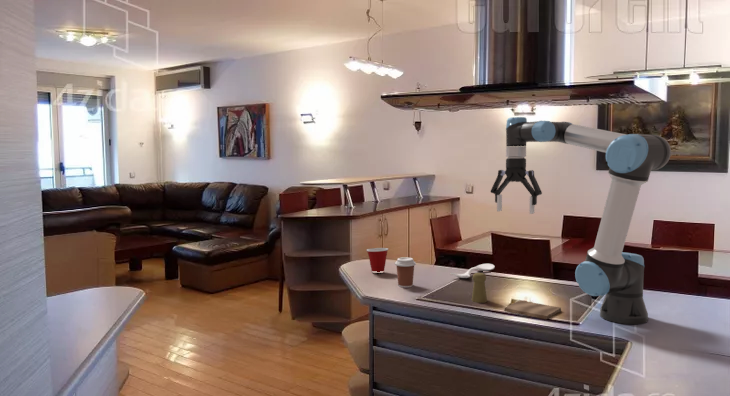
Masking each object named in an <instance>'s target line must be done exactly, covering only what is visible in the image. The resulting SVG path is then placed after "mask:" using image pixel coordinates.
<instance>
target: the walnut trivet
mask: <svg viewBox="0 0 730 396" xmlns="http://www.w3.org/2000/svg"><path fill="white" fill-rule="evenodd" d="M503 311H504V312H507V313H513V314H516V315H523V316H526V317H527V316H528V317H532V318H537V319H543V320H548V319H550V318H552V317H553V316H554V315H555V316H556V314H558V313H560V312H562V307H559V306H553V305H547V304H543V303H539V302H538V303H537V302H536V303H535V302H534V301H533V302H532V301H527V300H521V299H519V300H518V301H515V302H513V303H511V304H509V305H507V306H505V307H504V308H503Z"/></svg>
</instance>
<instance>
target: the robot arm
mask: <svg viewBox="0 0 730 396" xmlns="http://www.w3.org/2000/svg"><path fill="white" fill-rule="evenodd" d="M505 126H506V128H505V131H506V133H505V135H506V136H505V142H506V143H505V145H506V146H505V148H506V149H505V157H506V159H505V170H504V169H499V170H498V172H497V177H496V178H495V181H494V182H493V184H492V187H491V189H490V193H491V194H494V202H495V203H496V212H502V209H503V195H502V194H501V193H502V192H503V191H504V189H506V187H507V186H508V185H509V183H513V182H516V183H521V184H522V185H523V186H524V187H525V188H526V190H527V191H528V193H529V194H530V196H529V215H532V214H535V206H537V203H538V196H540V195H542V194H543V191H542V190H541V187H540V186H539V183H538V181H537V178H536V177H535V171H534V170H533V169H531V170H526V169H527V158H525V157H527V143H533V142H534V143H550V142H553V143H554V142H555V143H562V144H567V145H573V146H575V147H580V148H583V149H584V148H585V149H589V150H593V151H597V152H601V153H605V162H607V166H608V167H609V169H608V172H607V173H608V175H609V176H610V178H611V182H610V185H609V189H608V193H607V196H606V200H605V204H604V205H605V206H604V208H603V211H602V215H601V219H600V223H599V226H598V229H597V230H598V231H597V235H596V238H595V242H594V246H593V247H592V248H590V249H588V250H587V252H586V257H585V260H584V261H582V262H580V263H579V264H578V265H577V266H576V269H575V272H574V274H575V275H574V277H575V280H576V283H577V284H578V287H579V288H580V289H581V290H582V292H583V293H585V294H587V295H589V296H592V297H603V296H604V298H603V302H602V304H601V306H600V310H599V316H600V317H601V318H602V319H604V320H606V321H609V322H613V323H618V324H623V325H624V324H626V325H641V324H645V323H647V322H648V320H649V313H648V310H647V308H646V304H645V301H644V281H645V280H644V277H645V276H644V275H645V273H644V272H645V260H644V257H643V255H641V254H637V253H633V252H632V253H631V252H623V251H624V247H625V244H626V239H627V238H628V237H627V236H628V233H629V229H630V226H631V222H632V219H633V215H634V212H635V207H636V204H637V202H638V198H639V195H640V190H641V187H642V185H644V184H646V183H648V182H649V178H650V175H651V171H652V172H653V171H658V170H659V169H662V168H663V167H664V166H665V165H667V164H668V162H669V160H670V158H671V156H672V150H671V146H670V144H669V142H668V140H666V139H665V137H662V136H660V135H657V134H643V133H629V134H625V133H620V132H615V131H610V130H606V129H600V128H594V127H589V126H584V125H578V124H573V123H572V122H569V121H549V120H538V121H537V120H535V121H528V120H527V118H526V117H523V116H516V117H515V116H514V117H508V118H507V120H506V125H505ZM505 175H506V177H505V178H504V176H505ZM526 176H527V177H528V179H529V180H528V179H527V177H526ZM503 178H504V180H503ZM502 180H503V182H502ZM529 181H530V182H529ZM501 182H502V183H501Z"/></svg>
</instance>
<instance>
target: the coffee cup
mask: <svg viewBox="0 0 730 396" xmlns="http://www.w3.org/2000/svg"><path fill="white" fill-rule="evenodd" d="M394 265H395V266H396V273H397V286H398V287H399V288H411V287H413V286H414V275H415V266H416V265H417V263H416V261H415V260H414V258H412V257H406V256H405V257H402V256H401V257H397V260H396V261H395V262H394Z"/></svg>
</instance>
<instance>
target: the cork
mask: <svg viewBox="0 0 730 396" xmlns="http://www.w3.org/2000/svg"><path fill="white" fill-rule="evenodd" d="M486 280H487V276H486V274H485V273H483V272H475V273H473V275H472V281H473V286H472V293H471V295H472V296H471V300H472V301H471V302H472V303H478V304H480V303H481V304H482V303H487V301H488V298H487V291H486V282H485V281H486Z"/></svg>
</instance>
